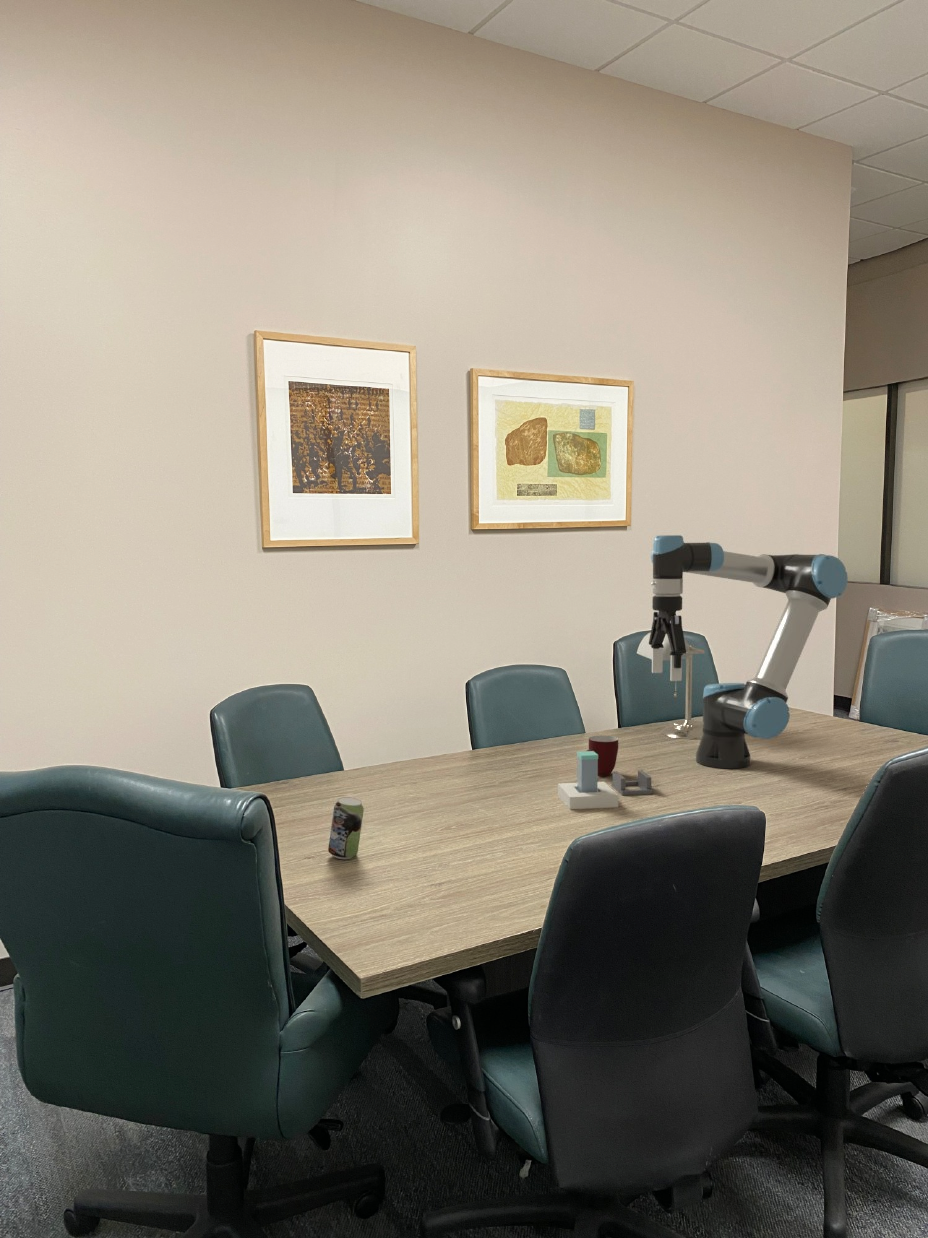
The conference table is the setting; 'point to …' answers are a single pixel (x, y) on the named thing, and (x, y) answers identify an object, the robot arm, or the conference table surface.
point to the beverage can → (346, 828)
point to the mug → (604, 753)
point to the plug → (587, 771)
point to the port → (587, 796)
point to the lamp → (679, 727)
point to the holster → (632, 784)
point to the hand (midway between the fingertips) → (666, 676)
